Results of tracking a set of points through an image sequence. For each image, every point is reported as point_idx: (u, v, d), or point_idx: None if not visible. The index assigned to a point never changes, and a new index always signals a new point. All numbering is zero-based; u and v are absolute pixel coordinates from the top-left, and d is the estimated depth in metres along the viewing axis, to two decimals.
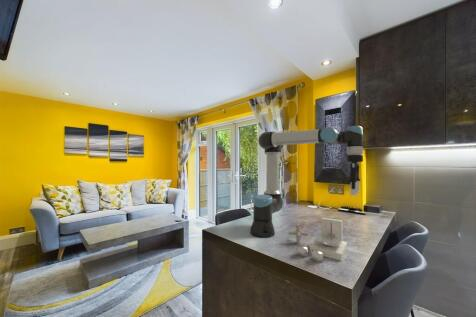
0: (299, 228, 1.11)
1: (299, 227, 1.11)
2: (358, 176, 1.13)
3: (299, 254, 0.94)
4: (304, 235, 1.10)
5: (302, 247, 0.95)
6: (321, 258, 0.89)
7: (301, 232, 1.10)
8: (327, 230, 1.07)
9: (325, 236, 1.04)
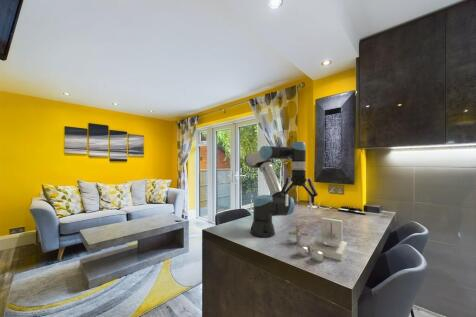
0: (299, 228, 1.11)
1: (299, 227, 1.11)
2: (309, 192, 1.07)
3: (299, 254, 0.94)
4: (304, 235, 1.10)
5: (302, 247, 0.95)
6: (321, 258, 0.89)
7: (301, 232, 1.10)
8: (327, 230, 1.07)
9: (325, 236, 1.04)
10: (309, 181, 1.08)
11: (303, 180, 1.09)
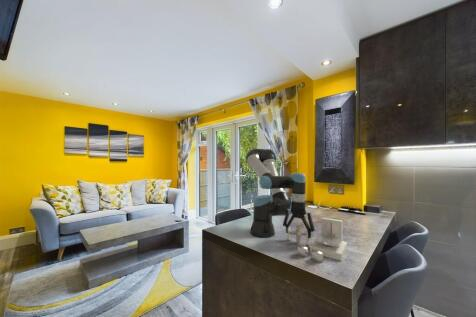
0: (299, 228, 1.11)
1: (299, 227, 1.11)
2: (306, 226, 1.07)
3: (299, 254, 0.94)
4: (304, 235, 1.10)
5: (302, 247, 0.95)
6: (321, 258, 0.89)
7: (301, 232, 1.10)
8: (327, 230, 1.07)
9: (325, 236, 1.04)
10: (308, 215, 1.07)
11: (303, 213, 1.09)
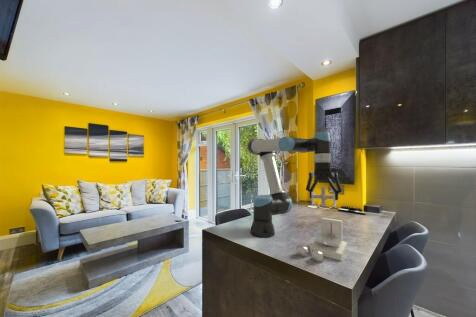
0: (324, 191, 1.02)
1: (324, 190, 1.02)
2: (333, 187, 0.99)
3: (299, 254, 0.94)
4: (330, 198, 1.01)
5: (302, 247, 0.95)
6: (321, 258, 0.89)
7: (327, 195, 1.02)
8: (327, 230, 1.07)
9: (325, 236, 1.04)
10: (335, 175, 0.99)
11: (328, 173, 1.01)
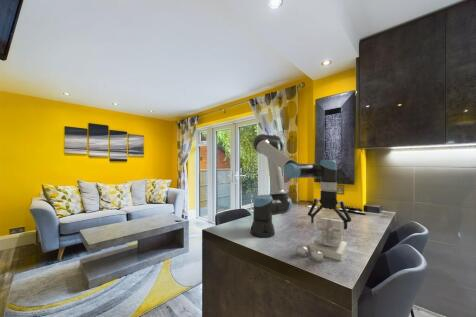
0: (330, 223, 1.00)
1: (330, 222, 1.00)
2: (341, 216, 0.97)
3: (299, 254, 0.94)
4: (336, 231, 1.00)
5: (302, 247, 0.95)
6: (321, 258, 0.89)
7: (332, 228, 1.00)
8: None
9: (325, 236, 1.04)
10: (342, 204, 0.97)
11: (334, 203, 0.99)
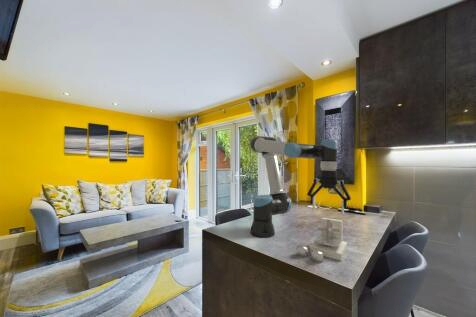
0: (330, 223, 1.00)
1: (330, 222, 1.00)
2: (341, 195, 0.97)
3: (299, 254, 0.94)
4: (335, 231, 1.00)
5: (302, 247, 0.95)
6: (321, 258, 0.89)
7: (332, 228, 1.00)
8: None
9: (325, 236, 1.04)
10: (341, 183, 0.97)
11: (334, 182, 0.99)
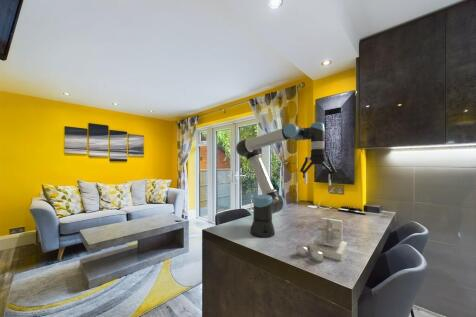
0: (329, 223, 1.00)
1: (329, 222, 1.00)
2: (328, 169, 1.14)
3: (299, 254, 0.94)
4: (335, 231, 1.00)
5: (302, 247, 0.95)
6: (321, 258, 0.89)
7: (332, 228, 1.00)
8: None
9: (325, 236, 1.04)
10: (328, 159, 1.14)
11: (322, 158, 1.16)
